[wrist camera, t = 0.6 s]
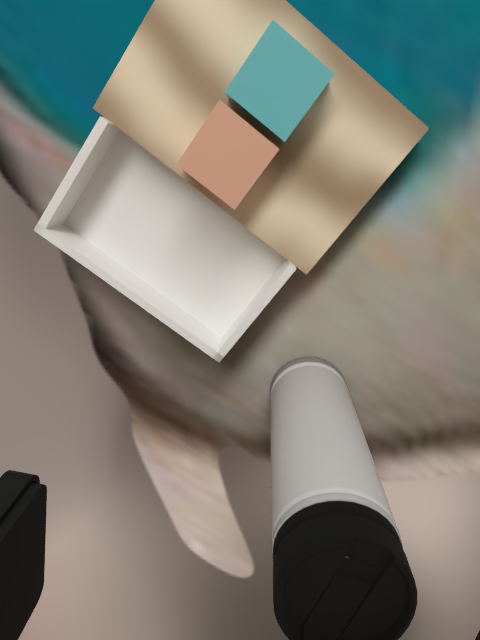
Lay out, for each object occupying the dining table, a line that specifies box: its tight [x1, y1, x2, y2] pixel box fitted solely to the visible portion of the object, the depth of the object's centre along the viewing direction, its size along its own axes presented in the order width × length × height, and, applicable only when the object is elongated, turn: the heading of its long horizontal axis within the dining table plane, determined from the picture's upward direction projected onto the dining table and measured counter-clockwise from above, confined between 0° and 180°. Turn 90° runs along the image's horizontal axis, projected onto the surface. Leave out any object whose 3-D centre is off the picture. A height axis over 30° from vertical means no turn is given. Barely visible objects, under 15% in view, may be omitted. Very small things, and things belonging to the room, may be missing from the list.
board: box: [93, 0, 429, 275], centre depth 30 cm, size 12×18×2 cm, turn 53°
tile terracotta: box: [177, 100, 279, 210], centre depth 28 cm, size 4×4×2 cm
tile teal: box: [225, 20, 335, 144], centre depth 27 cm, size 4×4×2 cm
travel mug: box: [270, 357, 417, 640], centre depth 28 cm, size 6×7×20 cm
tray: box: [34, 116, 296, 362], centre depth 32 cm, size 9×16×4 cm, turn 53°
